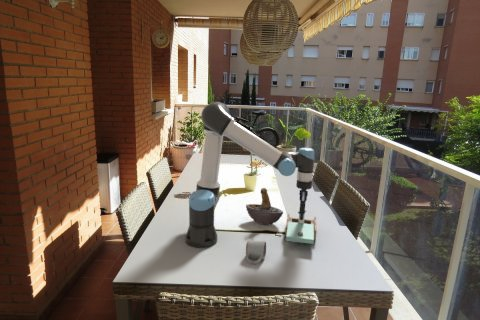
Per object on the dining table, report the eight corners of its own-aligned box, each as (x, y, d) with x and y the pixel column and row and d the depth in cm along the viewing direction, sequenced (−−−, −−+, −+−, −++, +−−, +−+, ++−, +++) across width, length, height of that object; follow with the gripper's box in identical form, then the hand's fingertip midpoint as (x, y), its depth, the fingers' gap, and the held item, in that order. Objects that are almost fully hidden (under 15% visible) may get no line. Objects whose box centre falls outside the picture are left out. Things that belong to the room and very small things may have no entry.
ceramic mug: (248, 251, 156) (248, 236, 154) (266, 254, 154) (267, 238, 152) (243, 263, 146) (243, 247, 144) (262, 266, 144) (263, 249, 142)
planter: (244, 219, 192) (245, 184, 187) (271, 216, 198) (273, 182, 193) (254, 230, 178) (256, 193, 174) (283, 226, 184) (286, 190, 180)
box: (315, 242, 167) (316, 230, 165) (284, 239, 170) (285, 227, 168) (315, 227, 184) (316, 216, 183) (287, 224, 187) (287, 213, 185)
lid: (313, 243, 156) (314, 237, 156) (285, 240, 158) (286, 234, 158) (313, 228, 172) (313, 222, 172) (288, 225, 174) (288, 219, 174)
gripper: (312, 184, 162) (308, 231, 167) (312, 176, 174) (308, 220, 179) (296, 182, 163) (292, 229, 168) (297, 175, 175) (293, 219, 181)
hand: (300, 224), depth 174 cm, fingers closed
